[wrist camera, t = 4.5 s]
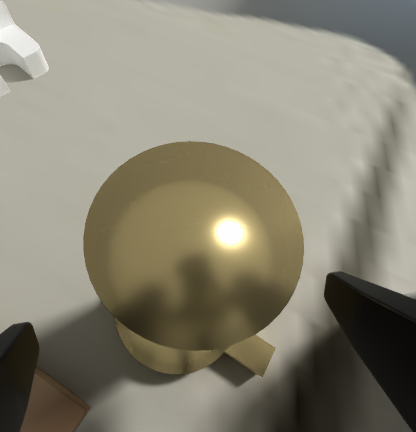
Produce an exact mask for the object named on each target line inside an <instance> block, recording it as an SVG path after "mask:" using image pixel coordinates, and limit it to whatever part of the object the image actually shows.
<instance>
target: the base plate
mask: <svg viewBox="0 0 416 432" xmlns="http://www.w3.org/2000/svg"><path fill="white" fill-rule="evenodd" d="M90 408H91V407H90V406H88V405H87V404H86V403H84V402H83V401H82V400H80V399H79V398H78V397H76V396H75V395H74V394H72V393H71V392H70V391H68V390H67V389H66V388H64V387H63V386H62V385H60V384H59V383H58V382H56V381H55V380H54V379H52V378H51V377H49V376H48V375H47V374H45V373H44V372H43V371H41V370H40V369H39V368H37V367H36V369H35V374H34V379H33V384H32V388H31V393H30V398H29V402H28V406H27V410H26V414H25V417H24V421H23V424H22V427H21V430H20V432H75V430H76V429H77V427H78V426H79V424H80V423H81V421H82V420H83V418H84V417H85V415H86V414H87V412H88V411H89V409H90Z"/></svg>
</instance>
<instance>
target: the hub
mask: <svg viewBox="0 0 416 432" xmlns="http://www.w3.org/2000/svg"><path fill="white" fill-rule="evenodd" d="M303 255H304V243H303V234H302V228H301V223H300V220H299V217H298V214H297V211H296V209H295V207H294V205H293V203H292V201H291V199H290V197H289V196H288V194H287V192H286V191H285V189H284V188H283V187H282V185H281V184H280V183H279V182H278V180H277V179H276V178H275V177H274V176H273V175H272V174H271V173H270V172H269V171H268V170H266V169H265V168H264V167H263V166H261V165H260V164H259V163H257V162H256V161H254V160H253V159H251V158H250V157H248V156H246V155H244V154H242V153H240V152H238V151H236V150H233V149H230V148H228V147H224V146H221V145H217V144H212V143H205V142H191V141H189V142H176V143H170V144H165V145H161V146H158V147H154V148H151V149H149V150H147V151H144V152H142V153H140V154H138V155H136V156H135V157H133V158H131V159H129V160H128V161H127V162H125V163H124V164H123V165H121V166H120V167H119V168H118V169H117V170H116V171H115V172H113V173H112V174H111V175H110V176H109V178H108V179H107V180H106V181H105V183H104V184H103V185H102V186H101V188H100V190H99V191H98V193H97V194H96V196H95V198H94V200H93V202H92V205H91V207H90V209H89V212H88V216H87V219H86V223H85V230H84V257H85V263H86V268H87V271H88V274H89V278H90V281H91V283H92V285H93V287H94V289H95V291H96V293H97V295H98V297H99V298H100V299H101V301H102V302H103V304H104V305H105V307H106V308H107V309H108V310H109V311H110V313H111V314H112V315H113V316H114V317H115V322H116V327H117V330H118V333H119V336H120V338H121V340H122V342H123V344H124V345H125V347H126V348H127V350H128V351H129V352H130V353H131V355H132V356H133V357H134V358H135V359H137V360H138V361H139V362H140V363H142V364H143V365H145V366H147V367H148V368H150V369H153V370H155V371H158V372H162V373H166V374H186V373H191V372H195V371H197V370H200V369H203V368H205V367H206V366H208V365H210V364H211V363H213V362H214V361H216V360H217V359H218V358H219V357H220V356H221V355H222V354H223V353H225V354H226V355H228V356H229V357H231V358H232V359H234V360H235V361H237V362H238V363H240V364H241V365H243V366H244V367H246V368H247V369H249V370H250V371H252V372H253V373H255V374H256V375H259V376H262V377H263V375H264V373H265V371H266V368H267V366H268V364H269V362H270V359H271V357H272V355H273V353H274V351H275V347H273V346H272V345H270V344H269V343H267V342H266V341H264V340H263V339H261V338H260V337H258V336H257V335H255V334H257V333H258V332H259V331H261V330H262V329H264V328H265V327H266V326H268V325H269V324H270V323H271V322H272V321H273V320H274V319H275V318H276V317H277V316H278V315H279V314H280V313H281V311H282V310H283V309H284V307H285V306H286V305H287V303H288V302H289V300H290V298H291V296H292V294H293V293H294V291H295V288H296V286H297V283H298V281H299V278H300V274H301V269H302V265H303Z"/></svg>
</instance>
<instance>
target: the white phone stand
mask: <svg viewBox="0 0 416 432" xmlns="http://www.w3.org/2000/svg"><path fill="white" fill-rule="evenodd" d="M7 64H15V65H18V66H19V67H21V68H22V69H23V70H24V71H25V72H27V73H28V74H29V75H30V76H31V77H32V78H33V79H35V78H37V77H39V76H41V75H42V74H44V73H46V72H47V71H48V69H49V67H48V65H47V62H46V60H45V58H44V56H43V53H42V51H41V49H40V46H39V44H38V43H37V42H35V41H34V40H33V39H32V38H31V37H30V36H28V35H27V34H26V33H25V32H24V31H22V30H21V29H20V28H19V27H18V26H17V25H15V24H14V22H13V20H12V18H11V16H10V14H9V11H8V9H7V7H6V5H5V3H4V1H3V0H0V67H1V66H3V65H7ZM9 92H11V91H10V90H9V88H8V86H7V85H6V83H5V82H4V80H3V78H2V77H1V75H0V97H1V96H3V95H5V94H7V93H9Z"/></svg>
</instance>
